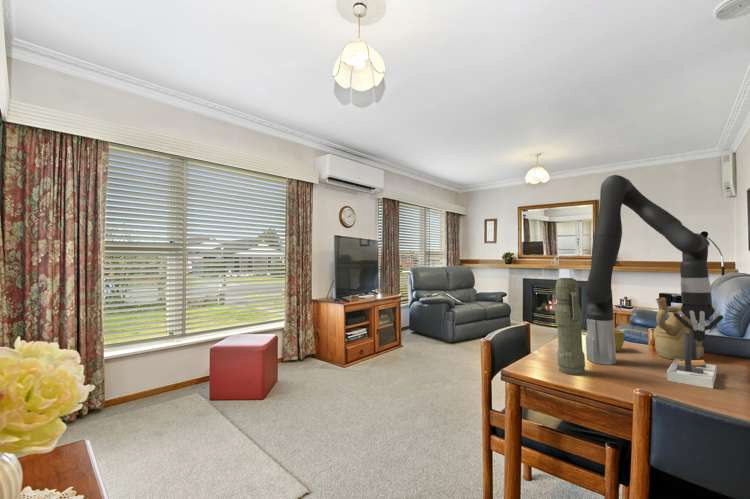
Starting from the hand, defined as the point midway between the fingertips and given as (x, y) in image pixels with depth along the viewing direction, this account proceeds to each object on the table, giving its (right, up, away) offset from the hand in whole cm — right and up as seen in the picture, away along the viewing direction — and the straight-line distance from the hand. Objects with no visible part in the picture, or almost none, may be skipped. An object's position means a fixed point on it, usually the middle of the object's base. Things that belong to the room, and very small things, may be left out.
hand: (700, 341), depth 115 cm
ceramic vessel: (+14, -13, +24) cm, 31 cm away
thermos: (-37, -15, +11) cm, 42 cm away
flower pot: (-4, -15, +38) cm, 41 cm away
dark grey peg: (-8, -10, -4) cm, 13 cm away
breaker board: (-1, -13, +1) cm, 13 cm away
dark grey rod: (+5, -10, +7) cm, 13 cm away
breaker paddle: (-2, -9, +2) cm, 9 cm away
